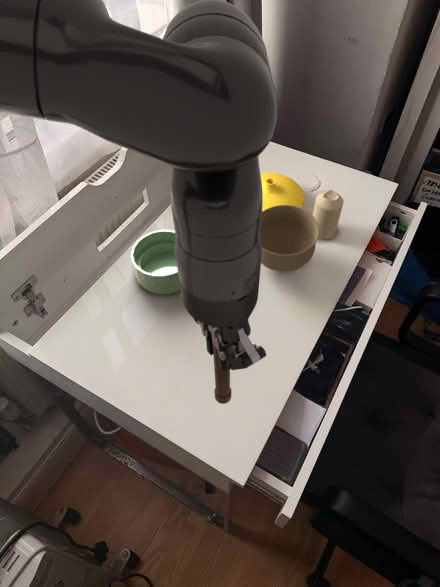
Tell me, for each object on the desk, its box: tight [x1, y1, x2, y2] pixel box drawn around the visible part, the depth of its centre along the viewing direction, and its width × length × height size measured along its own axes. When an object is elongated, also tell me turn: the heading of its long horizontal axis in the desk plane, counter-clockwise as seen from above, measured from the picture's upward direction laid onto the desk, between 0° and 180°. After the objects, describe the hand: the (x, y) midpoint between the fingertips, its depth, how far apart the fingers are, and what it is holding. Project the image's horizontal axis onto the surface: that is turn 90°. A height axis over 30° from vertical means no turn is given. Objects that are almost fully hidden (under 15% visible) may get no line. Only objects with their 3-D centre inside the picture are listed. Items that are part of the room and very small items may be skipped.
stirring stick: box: [212, 344, 232, 405], centre depth 56 cm, size 2×2×16 cm
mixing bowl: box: [130, 229, 181, 295], centre depth 86 cm, size 12×12×6 cm
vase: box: [260, 171, 305, 211], centre depth 97 cm, size 16×16×7 cm
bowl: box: [260, 205, 319, 273], centre depth 85 cm, size 13×13×10 cm
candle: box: [312, 189, 344, 240], centre depth 90 cm, size 6×6×10 cm
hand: (221, 357), depth 53 cm, fingers closed on stirring stick, 2 cm apart
